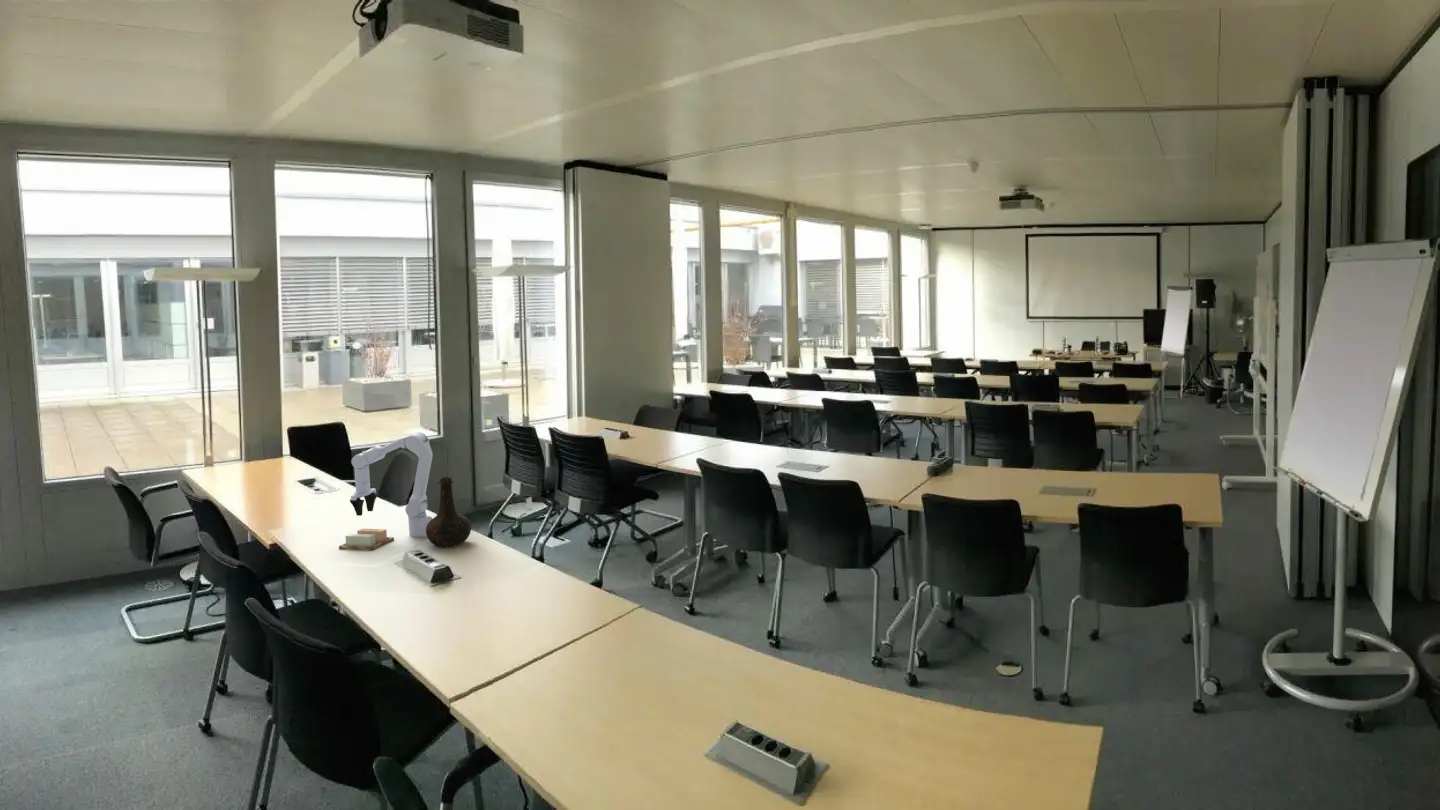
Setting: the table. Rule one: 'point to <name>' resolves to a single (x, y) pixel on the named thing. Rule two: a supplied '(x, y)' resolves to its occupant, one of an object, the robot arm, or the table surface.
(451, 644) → the table surface
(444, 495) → the glass bottle
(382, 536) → the peach rectangular block
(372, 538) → the grey-green block
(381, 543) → the rack
